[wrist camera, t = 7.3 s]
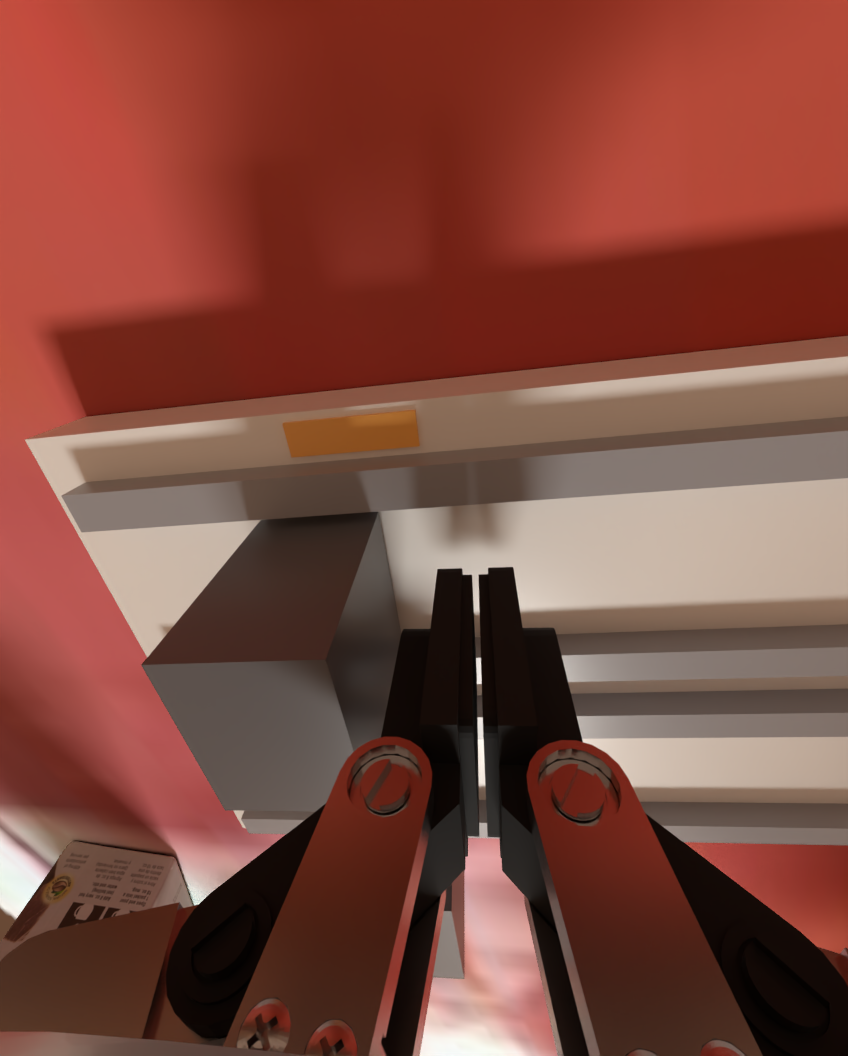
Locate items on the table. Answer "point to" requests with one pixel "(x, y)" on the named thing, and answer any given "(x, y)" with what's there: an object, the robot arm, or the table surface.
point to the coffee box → (97, 890)
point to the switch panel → (551, 547)
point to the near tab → (284, 660)
